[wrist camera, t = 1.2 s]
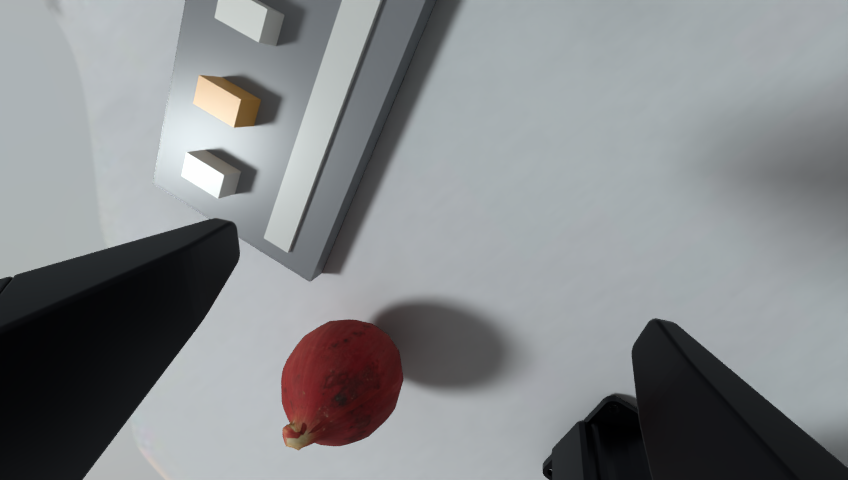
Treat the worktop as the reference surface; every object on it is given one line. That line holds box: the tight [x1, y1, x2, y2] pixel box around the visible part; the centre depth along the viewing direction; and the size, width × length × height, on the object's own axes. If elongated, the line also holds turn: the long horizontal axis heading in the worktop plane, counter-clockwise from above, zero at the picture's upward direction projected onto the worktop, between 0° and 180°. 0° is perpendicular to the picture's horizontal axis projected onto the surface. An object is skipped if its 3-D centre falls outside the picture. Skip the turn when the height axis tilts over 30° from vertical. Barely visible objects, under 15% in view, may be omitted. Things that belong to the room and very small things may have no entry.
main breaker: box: [193, 75, 261, 128], centre depth 19 cm, size 2×1×1 cm, turn 62°
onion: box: [281, 320, 403, 450], centre depth 20 cm, size 6×6×8 cm
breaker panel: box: [153, 0, 436, 282], centre depth 19 cm, size 11×18×2 cm, turn 152°
